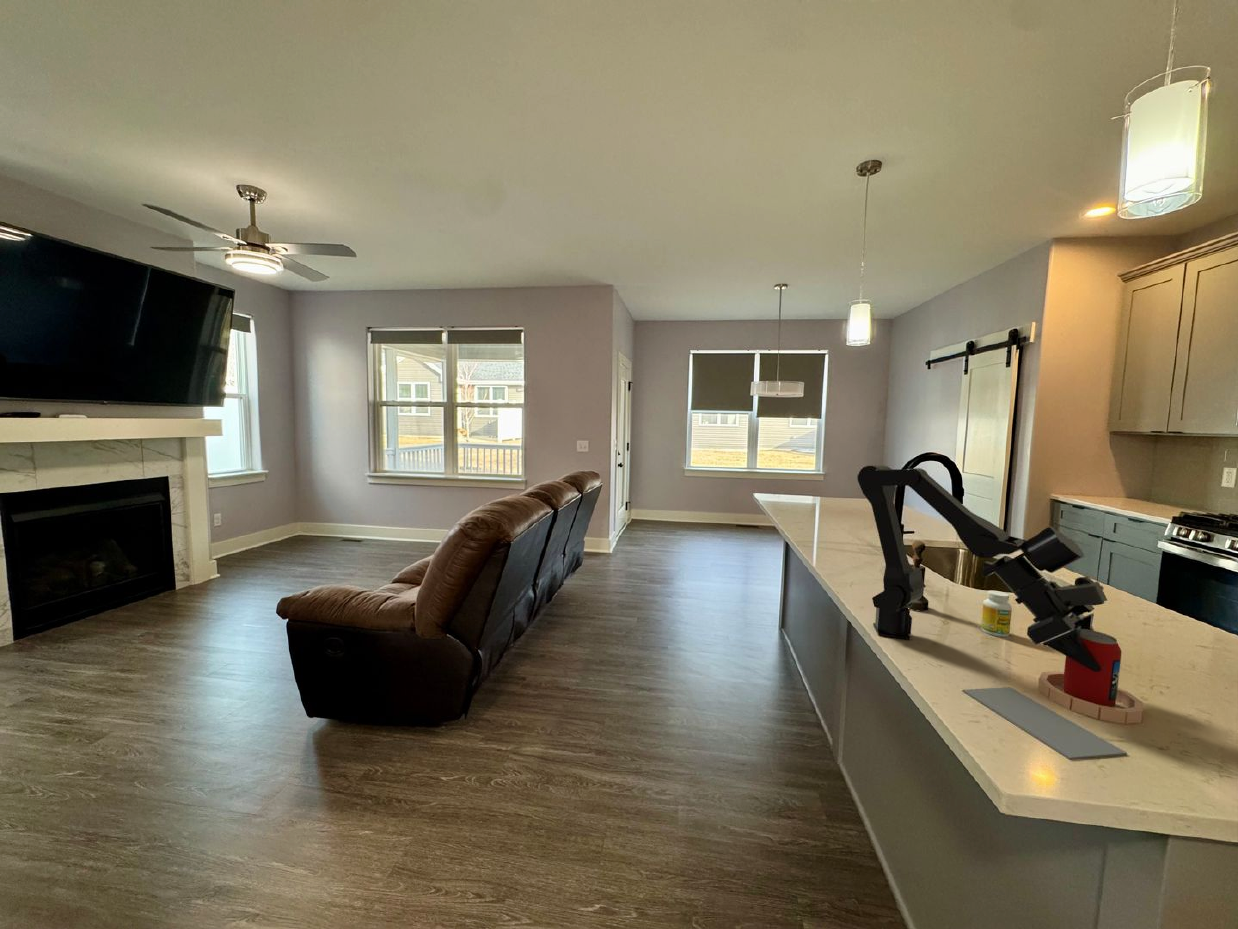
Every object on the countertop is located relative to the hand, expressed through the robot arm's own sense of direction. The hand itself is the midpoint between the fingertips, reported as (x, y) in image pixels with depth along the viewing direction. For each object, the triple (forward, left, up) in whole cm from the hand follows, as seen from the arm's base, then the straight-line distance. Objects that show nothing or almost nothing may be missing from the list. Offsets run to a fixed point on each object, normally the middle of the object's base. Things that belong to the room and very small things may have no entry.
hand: (1103, 665), depth 83 cm
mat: (-13, -10, -7) cm, 18 cm away
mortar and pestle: (-18, +42, -7) cm, 47 cm away
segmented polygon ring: (-1, +1, -7) cm, 7 cm away
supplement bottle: (-4, +30, -7) cm, 31 cm away
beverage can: (-1, +1, -7) cm, 7 cm away
